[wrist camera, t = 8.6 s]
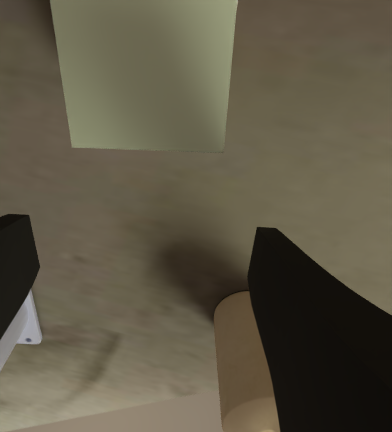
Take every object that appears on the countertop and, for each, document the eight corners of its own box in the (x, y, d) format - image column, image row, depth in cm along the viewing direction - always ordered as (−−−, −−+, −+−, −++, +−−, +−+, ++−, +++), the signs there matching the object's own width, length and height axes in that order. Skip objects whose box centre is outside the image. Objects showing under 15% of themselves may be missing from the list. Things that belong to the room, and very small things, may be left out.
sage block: (109, 111, 14) (72, 147, 9) (98, -17, 12) (42, -47, 7) (213, 116, 14) (223, 153, 10) (222, -10, 12) (240, -35, 7)
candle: (258, 278, 25) (295, 412, 16) (291, 319, 27) (340, 456, 18) (200, 309, 26) (204, 447, 17) (236, 345, 28) (256, 483, 20)
